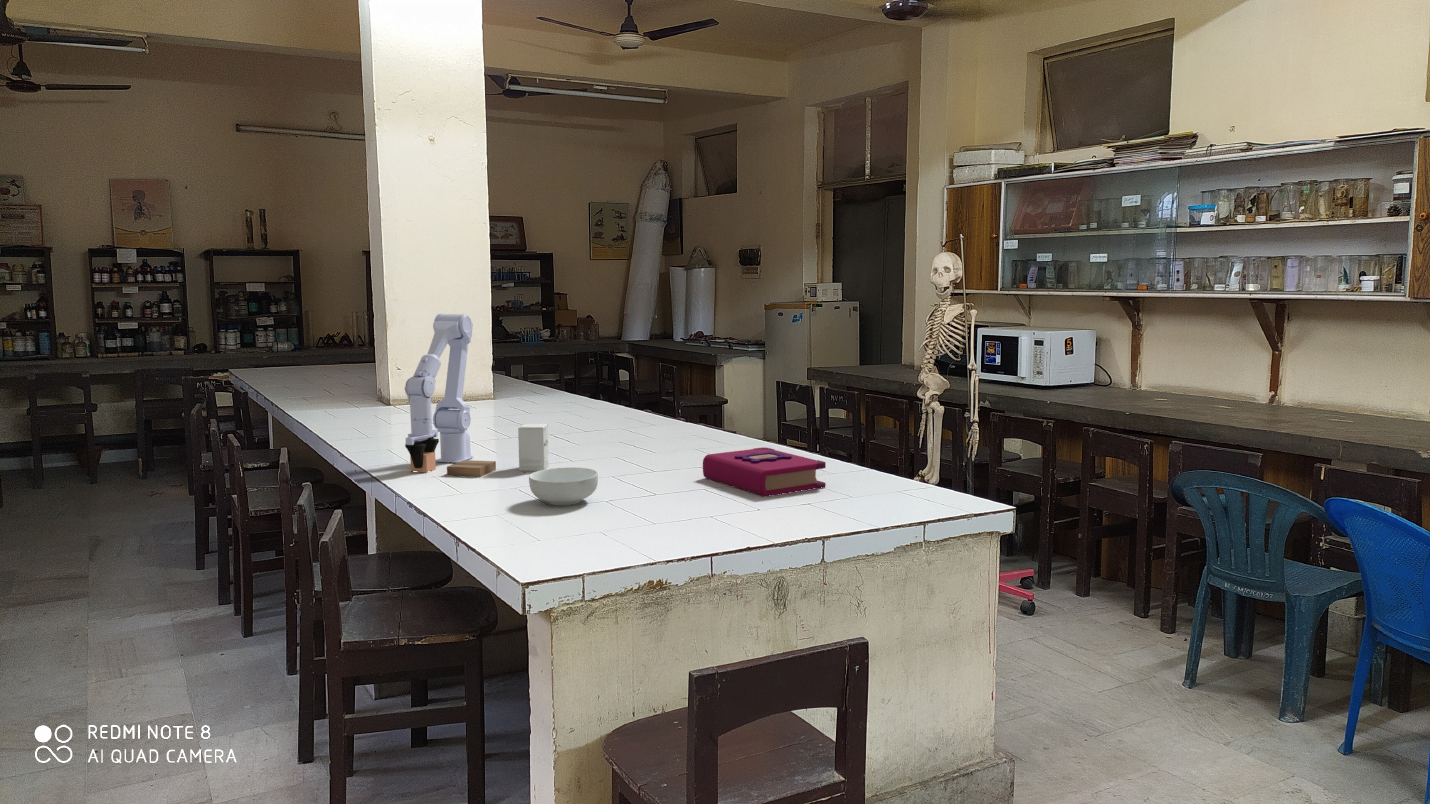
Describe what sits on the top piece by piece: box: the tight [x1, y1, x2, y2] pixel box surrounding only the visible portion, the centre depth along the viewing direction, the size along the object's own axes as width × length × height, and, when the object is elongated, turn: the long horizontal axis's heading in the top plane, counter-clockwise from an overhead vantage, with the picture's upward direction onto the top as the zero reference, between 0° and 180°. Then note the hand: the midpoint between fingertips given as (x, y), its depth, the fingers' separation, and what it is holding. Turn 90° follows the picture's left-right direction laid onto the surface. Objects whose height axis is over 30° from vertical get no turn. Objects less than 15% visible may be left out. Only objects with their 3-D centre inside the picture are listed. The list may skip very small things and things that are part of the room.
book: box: [702, 447, 827, 497], centre depth 260 cm, size 21×28×8 cm
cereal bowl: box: [528, 466, 599, 506], centre depth 239 cm, size 17×17×7 cm
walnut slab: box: [446, 459, 497, 478], centre depth 276 cm, size 10×10×3 cm
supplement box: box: [517, 423, 549, 472], centre depth 281 cm, size 7×7×13 cm
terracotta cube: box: [409, 452, 437, 473], centre depth 279 cm, size 5×5×5 cm
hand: (423, 465), depth 279 cm, fingers closed on terracotta cube, 5 cm apart
